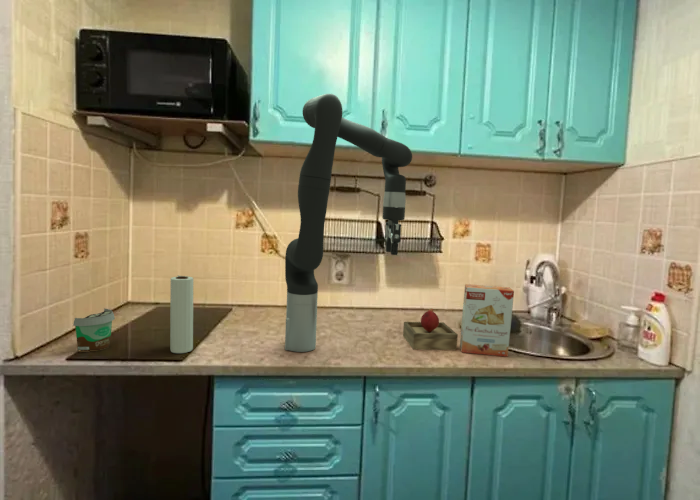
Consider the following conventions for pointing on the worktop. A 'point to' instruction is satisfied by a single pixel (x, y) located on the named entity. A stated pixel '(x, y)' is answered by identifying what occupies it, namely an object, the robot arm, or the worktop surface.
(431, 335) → the tray
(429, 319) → the onion
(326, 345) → the worktop surface
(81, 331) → the food container
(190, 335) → the paper towel roll
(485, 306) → the cracker box
